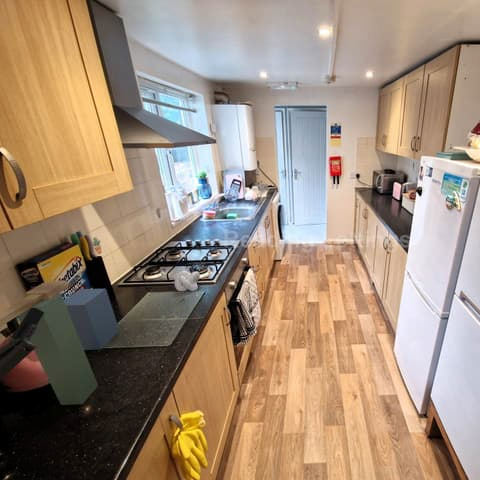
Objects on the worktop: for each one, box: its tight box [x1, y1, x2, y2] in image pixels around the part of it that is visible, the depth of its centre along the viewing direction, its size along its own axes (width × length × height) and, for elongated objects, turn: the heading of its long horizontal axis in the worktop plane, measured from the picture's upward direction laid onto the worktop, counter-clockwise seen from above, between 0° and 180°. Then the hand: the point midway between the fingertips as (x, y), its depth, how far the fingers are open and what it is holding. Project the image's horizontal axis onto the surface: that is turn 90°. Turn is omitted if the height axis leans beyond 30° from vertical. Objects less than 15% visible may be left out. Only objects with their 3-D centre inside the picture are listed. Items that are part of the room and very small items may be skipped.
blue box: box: [63, 288, 120, 351], centre depth 95 cm, size 9×10×20 cm
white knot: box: [173, 270, 201, 292], centre depth 132 cm, size 11×12×9 cm
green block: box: [16, 293, 99, 406], centre depth 72 cm, size 6×6×34 cm
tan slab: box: [0, 280, 70, 328], centre depth 62 cm, size 18×5×2 cm, turn 3°
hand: (6, 310), depth 58 cm, fingers open, 13 cm apart
